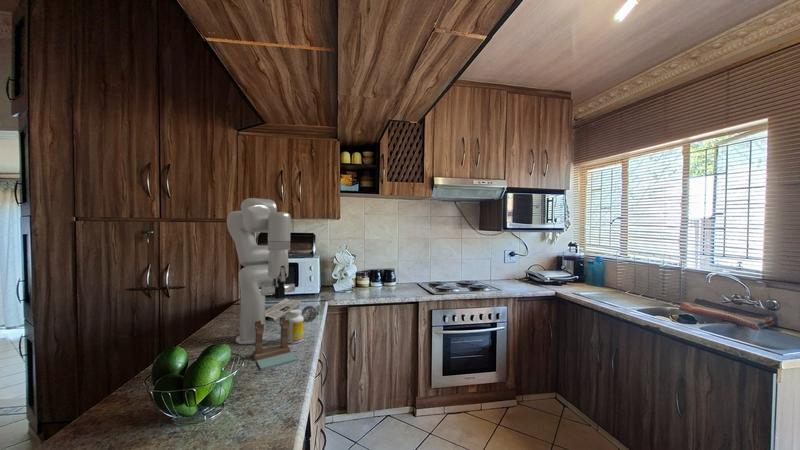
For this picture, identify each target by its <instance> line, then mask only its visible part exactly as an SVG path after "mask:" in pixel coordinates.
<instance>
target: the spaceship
mask: <svg viewBox="0 0 800 450" xmlns="http://www.w3.org/2000/svg"><path fill="white" fill-rule="evenodd" d="M318 313H322V308H321V305H319V304H318V305H317V306H313V305H312V304H311V305H307V306H305V307H304V308H303V309H302V310H301V316H302V317H303V319H304V321H305V322H312V321H314V320H315V319H316V318H317V316H318Z"/></svg>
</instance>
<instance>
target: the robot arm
mask: <svg viewBox="0 0 800 450" xmlns="http://www.w3.org/2000/svg"><path fill="white" fill-rule="evenodd" d="M240 209H241V210H235V211H231V212H229V214H227V216H226V225H227V231H228V232H229V235H230V236H231V238H232V240H233V242H234V243H235V248H236V253H237V258H238V261H239V264H240V265H241V266H242V267H243V268H241V269H240V270H239V272H238V282H239V283H238V284H239V289H240V312H239V313H240V316H239V317H240V318H239V319H240V320H239V321H240V322H239V323H240V324H239V335H237V336H236V337H235V343H237V344H239V345H252V344H254V345H255V340H256V331H255V321H261V324H264V333H263V341H266V340H268V338H269V335H270V334H269V333H268V332H267V331H266V317H265V311H266V295H263V296H262V295H261V287H265V286H275V285H276V287H275V294H271V297H274V299H276V300H279V299H285V297H286V295H285V294H286V293H285V284H286V279H287V278H288V277H289V251H290V250H291V228H292V227H291V226H292V225H291V222H292V221H291V218H292V217H291V214H290V213H288V212H285V211H284V212H283V211H278V206H277V204H276V202H275V201H274V200H272V199H267V198H257V197H256V198H255V197H249V198H245V199H244V200H242V202H241V203H240ZM251 232H252V233H267V245H259V244H257V240H256V237H255V235H253V234H252V233H251Z"/></svg>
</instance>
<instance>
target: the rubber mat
mask: <svg viewBox="0 0 800 450" xmlns="http://www.w3.org/2000/svg"><path fill="white" fill-rule="evenodd" d="M297 361H298V358H297V357H296V356H295V354H294V353H293V352H292V351H290V352H289V353H285V354H281V355H277V356H273V357H269V358H265V359H261V360H257V361H256V363H257V365H258V367H259V369H260V371H264V370H267V369H271V368H274V367H278V366H281V365H285V364H289V363H292V362H297Z"/></svg>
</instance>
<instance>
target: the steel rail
mask: <svg viewBox="0 0 800 450" xmlns="http://www.w3.org/2000/svg"><path fill="white" fill-rule="evenodd" d="M275 287H276V285H275V286H274V285H272V286H264V287H260V290H261V295H262V296H263V295H265V296H269V295H271V296H272V294H275ZM295 291H296V284H295V283H285V294H286V293H287V294H288V293H294V292H295Z"/></svg>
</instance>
